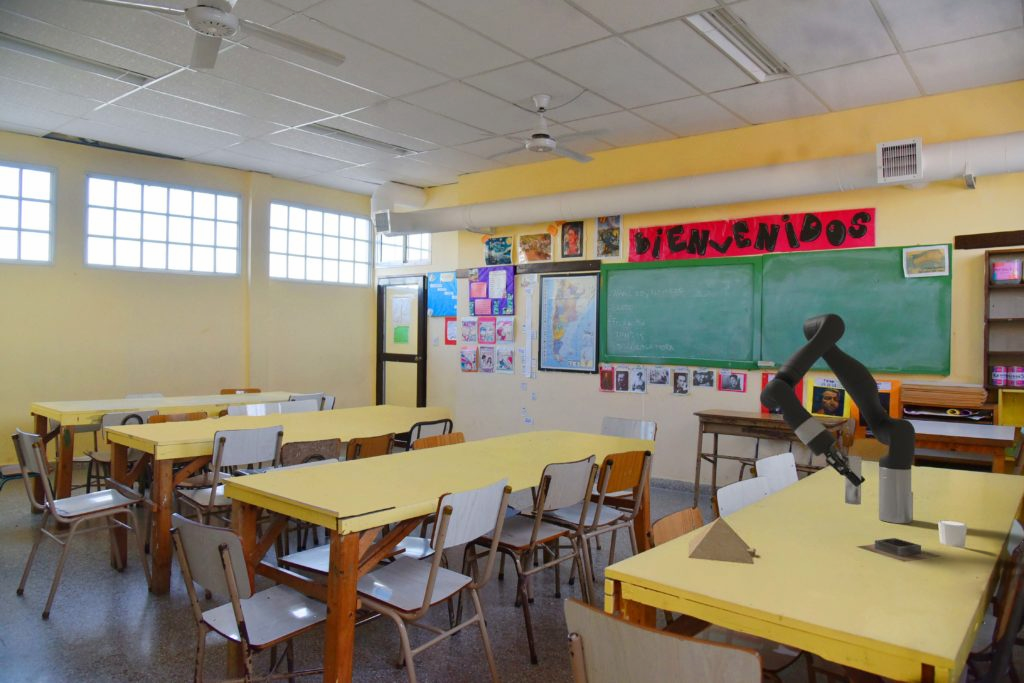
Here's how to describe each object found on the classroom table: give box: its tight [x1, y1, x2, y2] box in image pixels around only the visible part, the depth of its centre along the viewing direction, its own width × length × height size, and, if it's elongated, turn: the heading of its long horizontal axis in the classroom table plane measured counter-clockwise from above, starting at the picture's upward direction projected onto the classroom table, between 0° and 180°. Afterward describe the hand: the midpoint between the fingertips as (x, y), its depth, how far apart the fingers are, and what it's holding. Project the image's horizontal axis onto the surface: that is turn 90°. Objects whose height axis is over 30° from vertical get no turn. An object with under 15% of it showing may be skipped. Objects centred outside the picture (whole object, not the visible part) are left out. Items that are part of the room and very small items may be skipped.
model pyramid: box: [687, 516, 757, 565], centre depth 177 cm, size 17×17×10 cm
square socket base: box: [856, 537, 940, 563], centre depth 177 cm, size 14×14×3 cm
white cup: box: [937, 519, 968, 550], centre depth 185 cm, size 7×7×7 cm
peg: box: [844, 455, 862, 506], centre depth 187 cm, size 4×4×13 cm
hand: (860, 483), depth 186 cm, fingers closed on peg, 4 cm apart
